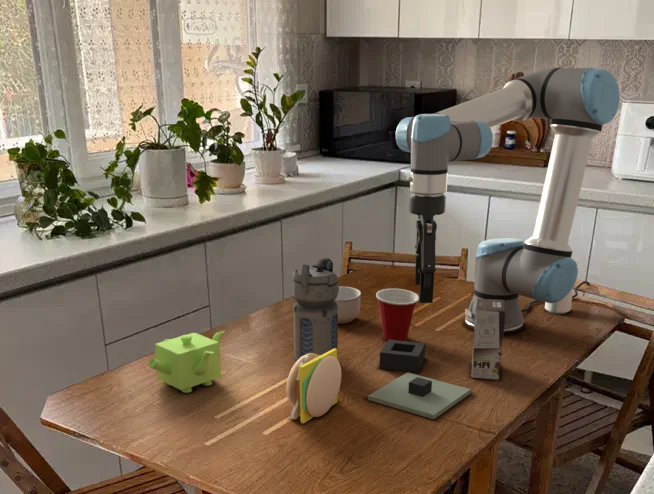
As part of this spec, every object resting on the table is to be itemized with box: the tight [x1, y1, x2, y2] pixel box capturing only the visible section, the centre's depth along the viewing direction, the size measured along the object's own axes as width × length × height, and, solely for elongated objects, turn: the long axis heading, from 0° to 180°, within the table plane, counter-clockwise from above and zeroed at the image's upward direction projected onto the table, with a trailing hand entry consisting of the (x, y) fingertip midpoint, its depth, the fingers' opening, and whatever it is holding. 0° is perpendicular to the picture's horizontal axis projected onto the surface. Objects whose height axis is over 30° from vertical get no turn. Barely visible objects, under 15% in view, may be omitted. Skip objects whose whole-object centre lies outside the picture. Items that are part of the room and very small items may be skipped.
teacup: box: [335, 286, 362, 325], centre depth 213 cm, size 14×11×8 cm
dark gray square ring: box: [379, 340, 426, 373], centre depth 183 cm, size 9×9×4 cm
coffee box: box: [470, 299, 506, 381], centre depth 176 cm, size 9×6×16 cm
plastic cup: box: [375, 288, 420, 342], centre depth 197 cm, size 11×11×12 cm
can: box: [544, 285, 575, 315], centre depth 218 cm, size 7×7×12 cm
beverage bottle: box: [292, 257, 340, 363], centre depth 179 cm, size 10×13×25 cm
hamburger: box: [285, 348, 342, 424], centre depth 158 cm, size 12×8×12 cm
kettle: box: [148, 330, 226, 394], centre depth 171 cm, size 15×14×11 cm
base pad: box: [367, 371, 472, 420], centre depth 166 cm, size 16×16×4 cm
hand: (423, 293), depth 169 cm, fingers open, 13 cm apart
